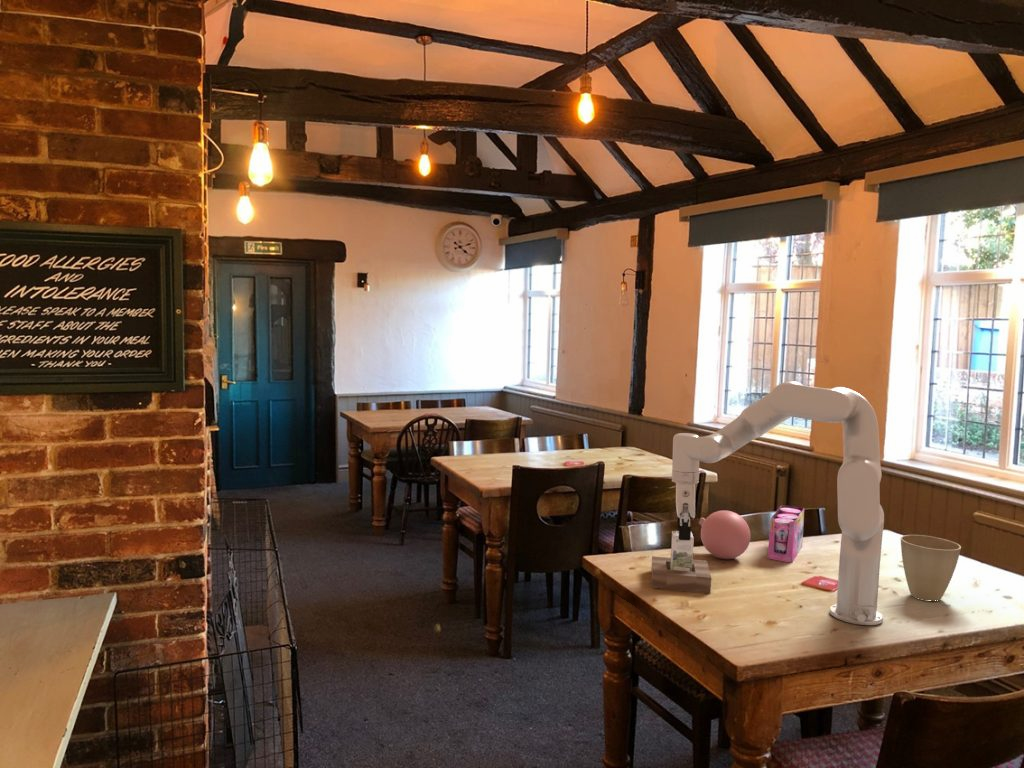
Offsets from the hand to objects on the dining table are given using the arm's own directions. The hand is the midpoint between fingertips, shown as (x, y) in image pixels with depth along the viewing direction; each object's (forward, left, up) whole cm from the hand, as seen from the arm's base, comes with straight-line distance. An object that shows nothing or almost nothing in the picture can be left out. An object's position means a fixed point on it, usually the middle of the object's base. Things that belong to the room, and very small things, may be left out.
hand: (683, 535), depth 221 cm
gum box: (+41, -36, -14) cm, 56 cm away
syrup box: (0, 0, -14) cm, 14 cm away
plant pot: (+5, -68, -14) cm, 69 cm away
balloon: (+30, -14, -14) cm, 36 cm away
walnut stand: (0, 0, -14) cm, 14 cm away
